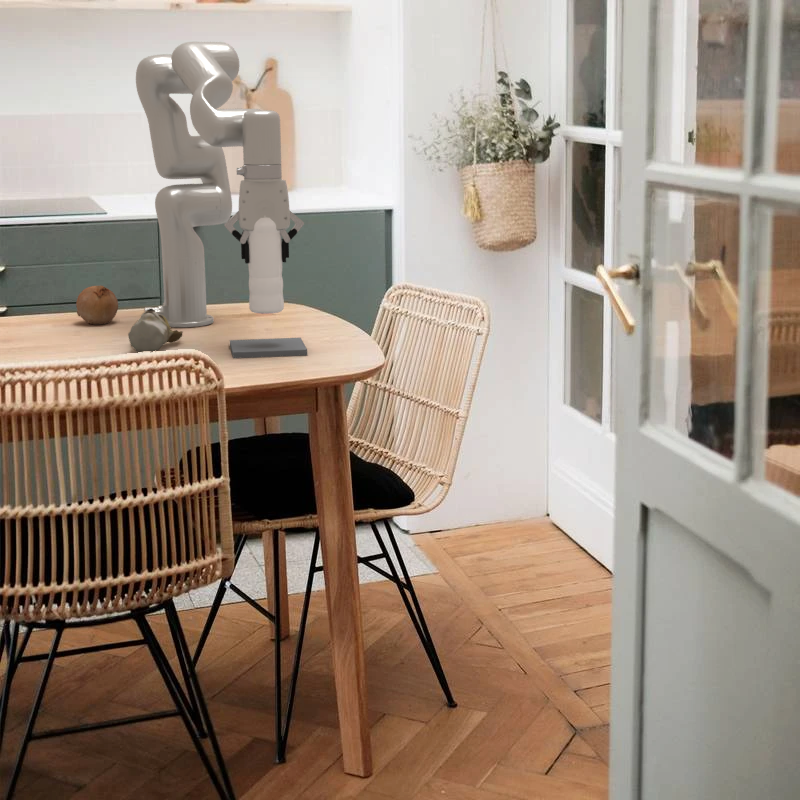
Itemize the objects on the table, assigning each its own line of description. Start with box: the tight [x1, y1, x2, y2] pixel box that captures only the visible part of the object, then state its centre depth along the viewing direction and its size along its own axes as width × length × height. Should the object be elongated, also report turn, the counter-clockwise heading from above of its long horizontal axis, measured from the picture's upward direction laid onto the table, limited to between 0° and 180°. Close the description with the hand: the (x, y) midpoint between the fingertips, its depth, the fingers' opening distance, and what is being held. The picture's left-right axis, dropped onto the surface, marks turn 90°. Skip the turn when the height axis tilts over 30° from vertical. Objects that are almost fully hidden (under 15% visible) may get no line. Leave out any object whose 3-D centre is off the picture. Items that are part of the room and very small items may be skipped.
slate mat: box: [229, 337, 308, 359], centre depth 266 cm, size 15×13×1 cm
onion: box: [75, 284, 119, 325], centre depth 296 cm, size 10×9×10 cm
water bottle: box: [247, 216, 285, 315], centre depth 261 cm, size 7×7×25 cm
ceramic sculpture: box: [128, 309, 184, 352], centre depth 268 cm, size 11×9×15 cm
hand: (265, 261), depth 261 cm, fingers closed on water bottle, 6 cm apart
